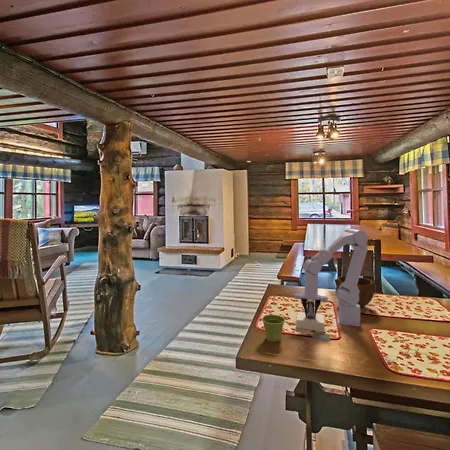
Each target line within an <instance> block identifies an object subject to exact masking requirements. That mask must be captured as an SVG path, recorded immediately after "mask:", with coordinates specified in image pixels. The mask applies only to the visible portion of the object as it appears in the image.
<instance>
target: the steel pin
mask: <svg viewBox="0 0 450 450" xmlns="http://www.w3.org/2000/svg"><path fill="white" fill-rule="evenodd" d="M314 312H315V300H307V319H314Z"/></svg>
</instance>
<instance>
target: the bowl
mask: <svg viewBox="0 0 450 450" xmlns="http://www.w3.org/2000/svg"><path fill="white" fill-rule="evenodd" d="M345 279H346V275H342V276H338V277H337V278H336V287H335V293H336V292H337V290H338V289H339V287H340V284H342V283H343V282H345ZM374 285H375V283H374V281H373V280H372V279H369V278H366V277H361V276H360V277H359V280H358V284H357V287H358V289H359V291H360V292H359V302H358V303H357V305H360V308H364V307H365V306H368V305H369V304H370V303H371V301H372V300H373V298H374V295H375V292H374V290H375V289H374Z"/></svg>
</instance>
